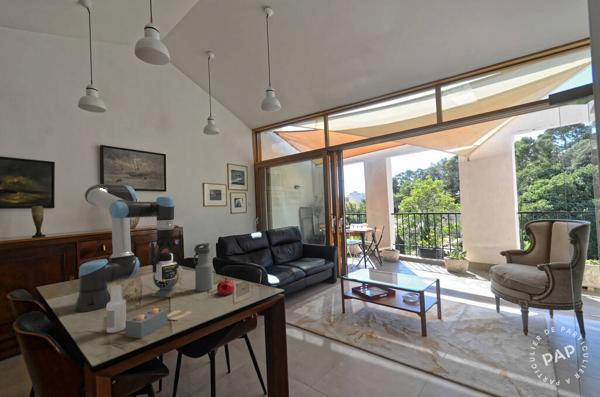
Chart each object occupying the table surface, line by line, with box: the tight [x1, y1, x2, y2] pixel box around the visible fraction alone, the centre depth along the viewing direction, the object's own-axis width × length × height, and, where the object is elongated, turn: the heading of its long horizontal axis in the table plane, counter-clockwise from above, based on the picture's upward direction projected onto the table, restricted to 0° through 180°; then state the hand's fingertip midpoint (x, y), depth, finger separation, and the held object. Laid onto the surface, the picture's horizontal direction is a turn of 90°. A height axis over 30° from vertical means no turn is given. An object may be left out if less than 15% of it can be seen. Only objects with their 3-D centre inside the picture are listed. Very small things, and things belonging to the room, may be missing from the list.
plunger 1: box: [135, 314, 144, 321], centre depth 105 cm, size 3×3×6 cm
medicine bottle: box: [157, 252, 178, 281], centre depth 124 cm, size 7×7×12 cm
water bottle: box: [193, 242, 213, 292], centre depth 162 cm, size 10×10×28 cm
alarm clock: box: [151, 269, 182, 298], centre depth 155 cm, size 14×10×18 cm
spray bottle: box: [105, 284, 127, 334], centre depth 110 cm, size 7×7×18 cm
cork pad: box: [167, 309, 192, 322], centre depth 122 cm, size 9×9×1 cm
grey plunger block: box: [125, 307, 168, 339], centre depth 109 cm, size 8×13×6 cm, turn 163°
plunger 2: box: [149, 307, 159, 314], centre depth 112 cm, size 3×3×6 cm
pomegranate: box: [216, 277, 235, 296], centre depth 153 cm, size 10×10×9 cm
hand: (166, 277), depth 124 cm, fingers closed on medicine bottle, 7 cm apart
